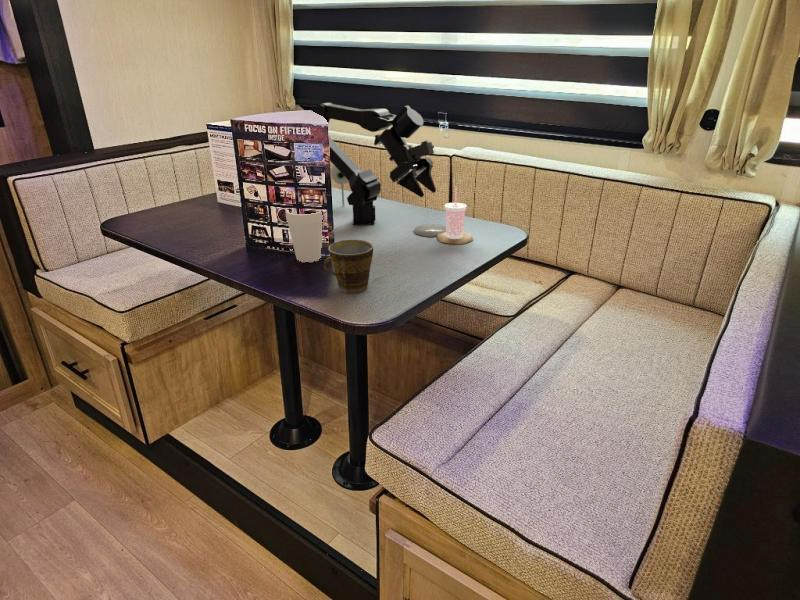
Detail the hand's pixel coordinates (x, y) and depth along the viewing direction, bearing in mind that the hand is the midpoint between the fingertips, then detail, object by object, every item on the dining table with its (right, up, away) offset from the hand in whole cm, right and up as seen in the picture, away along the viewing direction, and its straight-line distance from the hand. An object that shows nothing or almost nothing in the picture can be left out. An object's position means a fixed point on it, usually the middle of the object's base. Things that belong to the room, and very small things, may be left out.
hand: (429, 194), depth 153 cm
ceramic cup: (-20, -28, -30) cm, 46 cm away
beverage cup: (+7, -12, +1) cm, 14 cm away
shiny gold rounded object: (+7, -12, +1) cm, 14 cm away
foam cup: (-32, -19, -12) cm, 39 cm away
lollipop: (-27, +2, +32) cm, 42 cm away
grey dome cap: (+1, -10, +7) cm, 12 cm away
